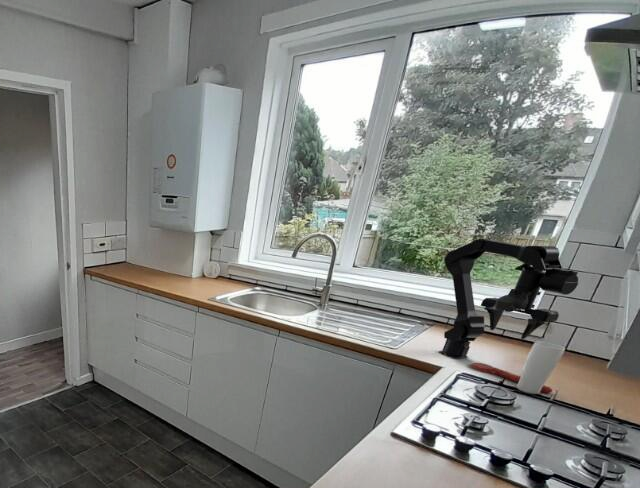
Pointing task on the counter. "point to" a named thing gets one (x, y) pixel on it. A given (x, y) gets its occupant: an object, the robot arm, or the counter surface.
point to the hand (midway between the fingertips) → (506, 334)
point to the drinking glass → (539, 366)
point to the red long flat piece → (503, 374)
